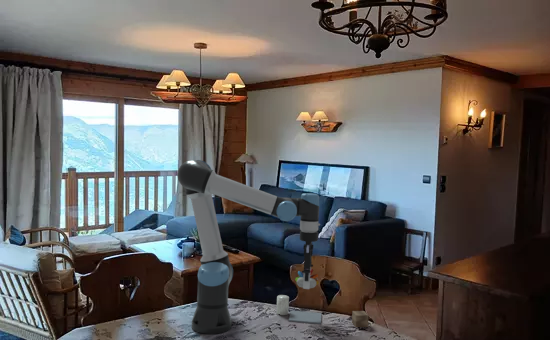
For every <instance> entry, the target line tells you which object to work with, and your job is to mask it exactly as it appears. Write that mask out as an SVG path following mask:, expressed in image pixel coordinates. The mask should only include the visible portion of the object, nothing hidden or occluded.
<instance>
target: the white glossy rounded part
mask: <svg viewBox="0 0 550 340" xmlns="http://www.w3.org/2000/svg"><path fill="white" fill-rule="evenodd" d="M289 300H290V297H289V296H288V295H285V294H279V295H277V296H276V315H278V314H280V315H279V316H286V315H288V314H289V302H290V301H289Z"/></svg>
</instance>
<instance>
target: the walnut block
mask: <svg viewBox="0 0 550 340" xmlns="http://www.w3.org/2000/svg"><path fill="white" fill-rule="evenodd" d="M352 323H353V324H352ZM351 324H352V325H353V326H354V328H355V327H368V328H369V314H367V312H366V311H364V310H352V315H351Z"/></svg>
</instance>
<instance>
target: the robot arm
mask: <svg viewBox="0 0 550 340" xmlns="http://www.w3.org/2000/svg"><path fill="white" fill-rule="evenodd" d="M215 171H216V170H213V169H212V168H211V166H210V165H209V164H208V163H207V162H206V161H204V160H201V159H194V160H193V159H192V160H191V159H190V160H187V161H185V162H183V163H182V164H181V165H180V166H179V168H178V170H177V180H178V182H179V184H180V185H181V186H182V187H183V188H184V191H185V195H186V197H188V199H190V201H191V205H192V211H193V214H194V219H195V223H196V224H195V225H196V228H197V235H198V238H199V243H200V247H201V252H202V256H201V258H200V259H199V260H200V266H199V268H198V271H197V294H196V295H197V297H196V308H195V310H194V311H195V312H194V315H193V317H192V319H191V328H192V329H191V330H193V331H194V332H197V333H201V334H205V335H207V334H208V335H215V334H222V333H225V332H228V331H230V329H232V318H231V314H230V311H229V307H228V306H229V304H228V303H229V300H228V299H229V286H230V283H231V281H232V280H233V277H234V269H233V265H232V264H231V262H230V258H229V253H228V251H227V252H226V251H225V250H224V247H223V242H222V238H221V233H220V228H219V225H218V224H219V222H218V219H217V214H216V208H215V205H214V201H213V195H215V196H217V197H220V198H222V199H226V200H229V201H231V202H234V203H237V204H240V205H243V206H246V207H248V208H251V209H253V210H257V211H259V212H262V213H265V214H267V215H271V216H273V217H276V218H278V219H280V221H284V222H291V221H292V220H294V219H295V217H300V219H299V221H300V222H299V230H300V231H299V240H300V241H302V242H305V243H303V247H302V249H303V256H304V257H303V260H304V261H303V270H302V271H301V272H302V273H303V287H302V289H305V290H310V289H311V288H310V271H311V269H312V267H314V264H312V263H313V262H312V258H313V251H314V244H313V242H314V243H315V242H318V240H319V232H318V231H319V226H321V223H319V217H320V196H319V194H317V193H310V192H309V193H308V192H307V193H305V192H304V193H302V194H301V196H300V197H282V196H277V195H274V194H271V193H269V192H266V191H263V190H261V189H258V188H256V187H252V186H249V185H247V184H244V183H241V182H239V181H236V180H233V179H230V178H228V177H225V176H222V175H220V174H217V173H216V172H215Z"/></svg>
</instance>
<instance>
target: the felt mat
mask: <svg viewBox="0 0 550 340" xmlns="http://www.w3.org/2000/svg"><path fill="white" fill-rule="evenodd" d="M322 315H323V314H322V312H311V311H310V312H309V311H299V310H290V313H289V316H288V322H291V321H293V322H294V323H303V324H304V323H305V324H314V325H316V324H317V325H321V324H322Z"/></svg>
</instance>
